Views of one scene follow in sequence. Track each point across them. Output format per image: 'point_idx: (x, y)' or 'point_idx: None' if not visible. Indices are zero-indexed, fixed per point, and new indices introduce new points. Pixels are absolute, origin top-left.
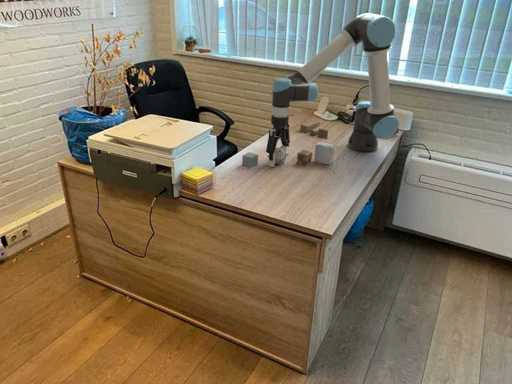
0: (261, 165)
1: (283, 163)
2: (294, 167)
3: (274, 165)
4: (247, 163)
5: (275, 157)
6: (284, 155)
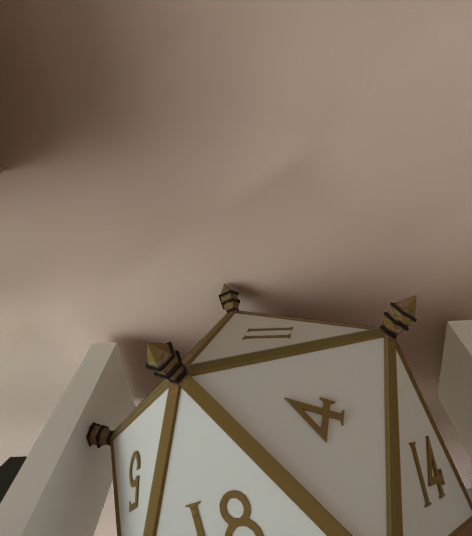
0: (461, 455)
1: (232, 296)
2: (197, 67)
3: (456, 335)
4: None
5: (445, 458)
6: (260, 388)
